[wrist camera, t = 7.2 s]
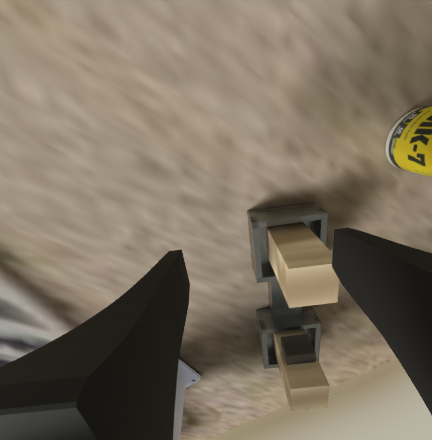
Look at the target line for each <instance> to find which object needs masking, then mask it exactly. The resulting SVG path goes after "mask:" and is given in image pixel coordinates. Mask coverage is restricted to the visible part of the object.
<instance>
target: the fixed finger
mask: <svg viewBox="0 0 432 440" xmlns="http://www.w3.org/2000/svg"><path fill="white" fill-rule="evenodd" d="M273 343H274V351H275V355H276V359H277V362H278V366H279V370H280V373H281V377H282V381H283V384H284V388H285V392H286V395H287V399H288V403H289V406H290V410H291V411H298V410H308V409H319V408H327V404H328V394H329V384H328V381H327V379H326V377H325V375H324V372H323V370H322V368H321V366H320V363H319V361H318V359H317V357H316V352H315V350H314V348H313V346H312V343H311V341H310V339H309V337H308V335H307V334H306V332H305V330H304V329H300V330H291V331H282V332H273Z"/></svg>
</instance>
